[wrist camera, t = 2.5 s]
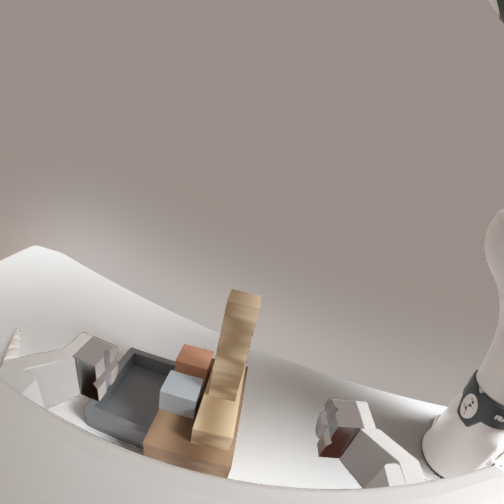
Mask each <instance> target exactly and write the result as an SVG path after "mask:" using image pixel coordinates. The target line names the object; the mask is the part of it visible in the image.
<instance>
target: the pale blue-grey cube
mask: <svg viewBox="0 0 504 504" xmlns="http://www.w3.org/2000/svg"><path fill="white" fill-rule="evenodd" d="M203 381H204V379H201V378H197V377H194V376H190V375H186V374H183V373H180V372H176V371H173V370H171V371H170V372H169V374H168V376H167V378H166V380H165V382H164V384H163V386H162V388H161V390H160V398H159V409H161V410H165V411H168V412H171V413H174V414H178V415H181V416H184V417H188V418H192V419H193V418H194V415H195V412H196V409H197V407H198V404H199V401H200V398H201V393H202V387H203Z"/></svg>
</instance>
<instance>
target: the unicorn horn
mask: <svg viewBox="0 0 504 504" xmlns="http://www.w3.org/2000/svg"><path fill="white" fill-rule="evenodd" d="M17 357H21V353H20V330H19V327H17V329H16V330H15V332H14V335H13V337H12V339H11V341H10V344H9V346H8V349H7V352H6V354H5V357H4V360H3V364H4V363H6V362H7V361H8V360H9V359H12V358H17ZM3 364H2V365H3Z"/></svg>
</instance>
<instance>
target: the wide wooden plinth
mask: <svg viewBox="0 0 504 504" xmlns="http://www.w3.org/2000/svg"><path fill="white" fill-rule="evenodd" d="M214 362H215V359H213V358H212V363H211V368H210V371H209V374H208V377H207V380H206V383H205V386H204V387H202V393H201V398H200V401H199V404H198V407H197V409H196V412H195V415H194V418H193V419H192V418H188V417H184V416H181V415H178V414H174V413H171V412H168V411H165V410H161V409H159V410H158V412H157V414H156V416H155V418H154V420H153V422H152V424H151V426H150V428H149V431H148V433H147V435H146V437H145V439H144V441H143V454H144V456H147V457H150V458H153V459H156V460H159V461H162V462H165V463H168V464H171V465H175V466H178V467H181V468H185V469H189V470H192V471H196V472H200V473H204V474H209V475H213V476H218V477H222V478H227V477H228V474H229V472H230V469H231V465H232V459H233V453H234V448H235V442H236V436H237V430H238V424H239V418H240V412H241V405H242V399H243V393H244V387H245V381H246V374H247V368H248V367H245V373H244V379H243V384H242V390H241V396H240V402H239V408H238V413H237V419H236V425H235V430H234V436H233V440H232V443H231V446H230V450H229V452H228V451H223V450H219V449H214V448H210V447H206V446H202V445H198V444H194V443H191V436H192V429H193V426H194V423H195V420H196V417H197V414H198V411H199V408H200V405H201V402H202V399H203V396H204V393H205V390H206V386H207V383H208V380H209V377H210V374H211V371H212V368H213V365H214Z"/></svg>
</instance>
